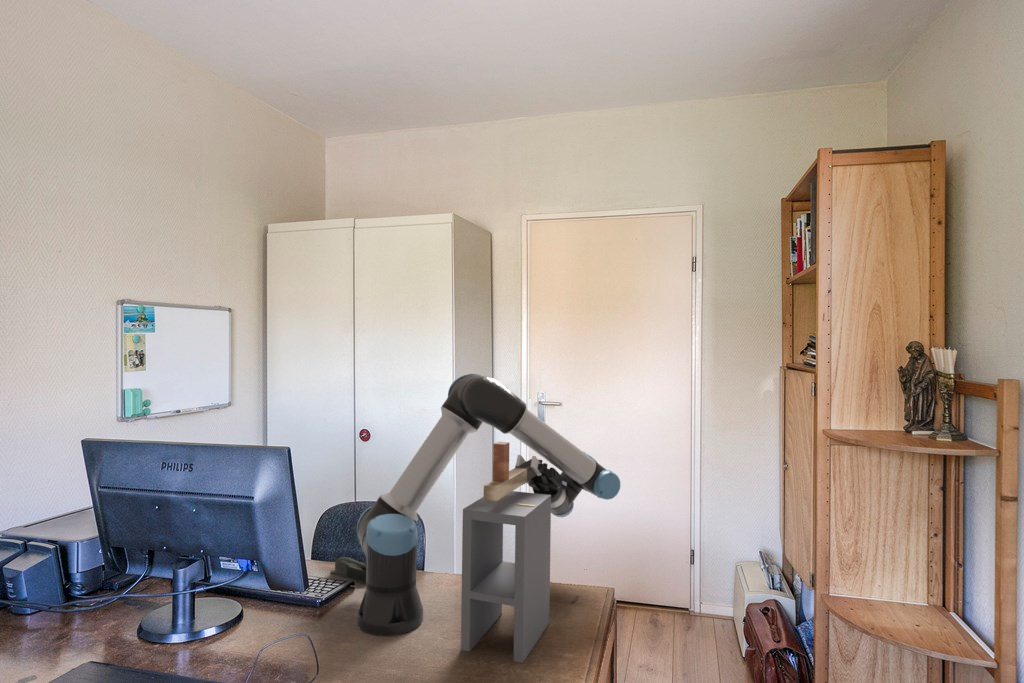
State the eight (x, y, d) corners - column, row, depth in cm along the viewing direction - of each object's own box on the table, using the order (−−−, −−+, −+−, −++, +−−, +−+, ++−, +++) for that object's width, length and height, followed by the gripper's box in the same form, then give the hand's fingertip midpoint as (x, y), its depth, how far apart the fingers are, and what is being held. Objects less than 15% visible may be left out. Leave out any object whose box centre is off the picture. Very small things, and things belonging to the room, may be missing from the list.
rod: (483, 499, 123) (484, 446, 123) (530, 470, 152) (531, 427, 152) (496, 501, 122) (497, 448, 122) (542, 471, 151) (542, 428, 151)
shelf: (460, 649, 127) (462, 508, 127) (494, 612, 144) (495, 488, 145) (522, 662, 122) (524, 515, 122) (549, 622, 140) (551, 494, 140)
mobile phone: (376, 565, 162) (337, 553, 170) (368, 568, 160) (328, 556, 167) (375, 583, 162) (336, 570, 170) (367, 586, 160) (328, 574, 167)
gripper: (576, 506, 158) (555, 478, 139) (519, 500, 164) (491, 472, 145) (579, 479, 162) (559, 448, 143) (523, 474, 167) (497, 443, 148)
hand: (525, 460), depth 144 cm, fingers closed on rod, 3 cm apart
